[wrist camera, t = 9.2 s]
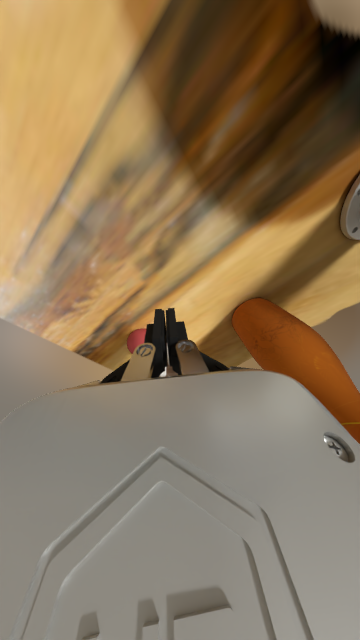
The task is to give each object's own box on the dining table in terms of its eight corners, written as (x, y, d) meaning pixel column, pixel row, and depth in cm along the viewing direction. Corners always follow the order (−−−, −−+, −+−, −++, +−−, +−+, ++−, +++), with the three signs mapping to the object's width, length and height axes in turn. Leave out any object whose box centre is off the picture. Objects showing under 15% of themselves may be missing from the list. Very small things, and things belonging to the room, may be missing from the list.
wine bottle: (220, 322, 32) (419, 642, 7) (251, 287, 28) (1005, 775, 3) (248, 336, 35) (447, 583, 11) (279, 307, 31) (732, 605, 6)
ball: (160, 351, 32) (158, 349, 26) (135, 360, 31) (127, 361, 25) (152, 327, 33) (148, 321, 27) (128, 336, 32) (119, 331, 26)
